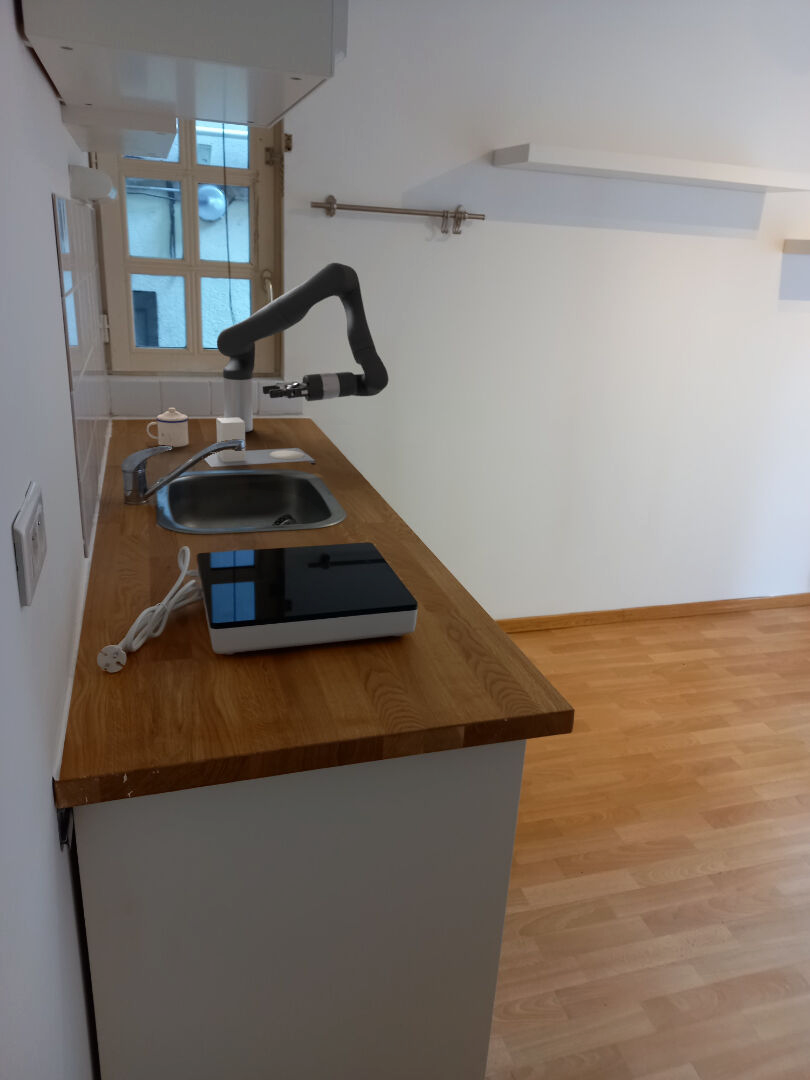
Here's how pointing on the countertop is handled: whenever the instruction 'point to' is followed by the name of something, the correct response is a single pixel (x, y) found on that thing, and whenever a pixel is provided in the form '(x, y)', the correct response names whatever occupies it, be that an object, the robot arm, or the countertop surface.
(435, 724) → the countertop surface
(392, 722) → the countertop surface
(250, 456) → the board
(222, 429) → the white tall block
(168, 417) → the teacup with lid
